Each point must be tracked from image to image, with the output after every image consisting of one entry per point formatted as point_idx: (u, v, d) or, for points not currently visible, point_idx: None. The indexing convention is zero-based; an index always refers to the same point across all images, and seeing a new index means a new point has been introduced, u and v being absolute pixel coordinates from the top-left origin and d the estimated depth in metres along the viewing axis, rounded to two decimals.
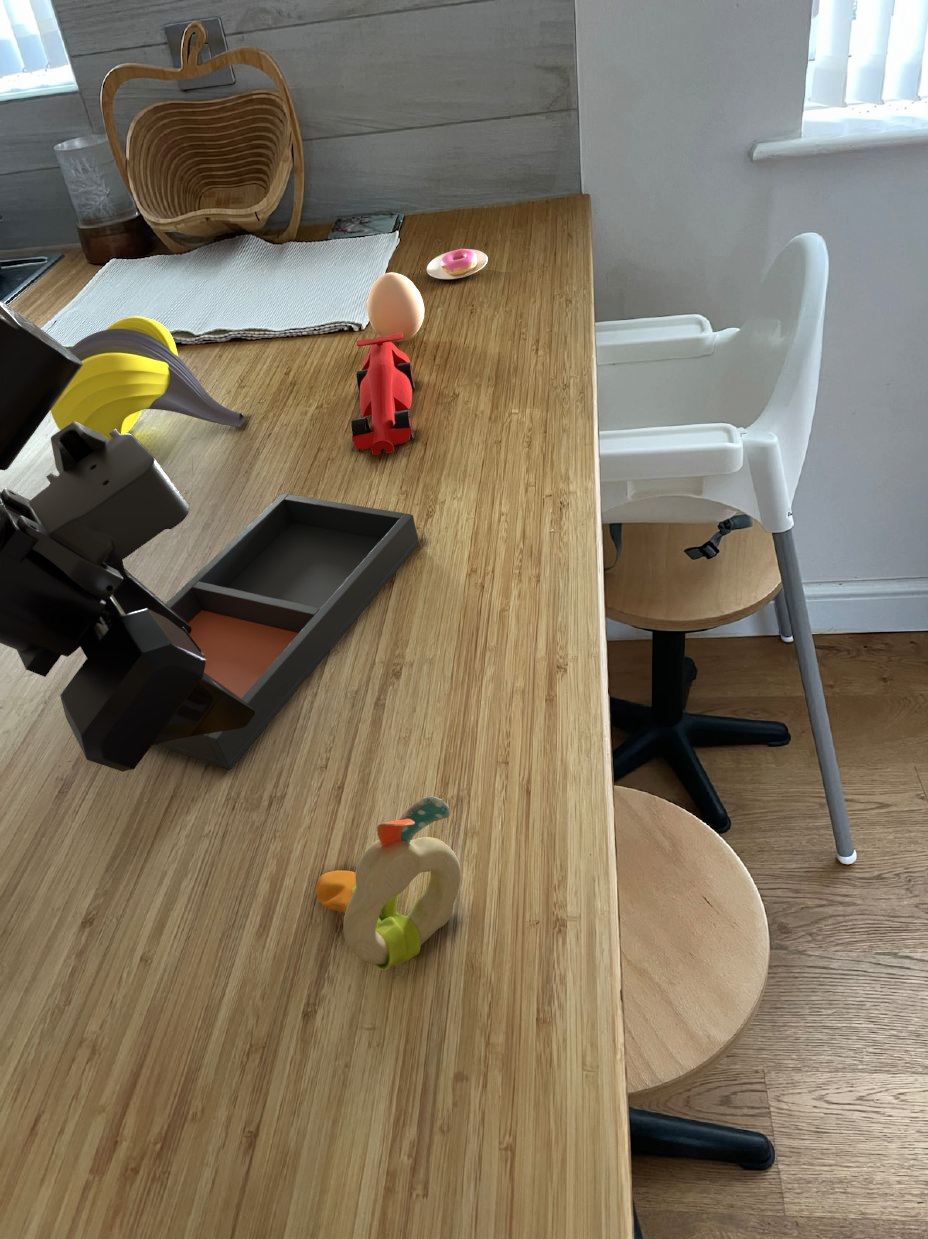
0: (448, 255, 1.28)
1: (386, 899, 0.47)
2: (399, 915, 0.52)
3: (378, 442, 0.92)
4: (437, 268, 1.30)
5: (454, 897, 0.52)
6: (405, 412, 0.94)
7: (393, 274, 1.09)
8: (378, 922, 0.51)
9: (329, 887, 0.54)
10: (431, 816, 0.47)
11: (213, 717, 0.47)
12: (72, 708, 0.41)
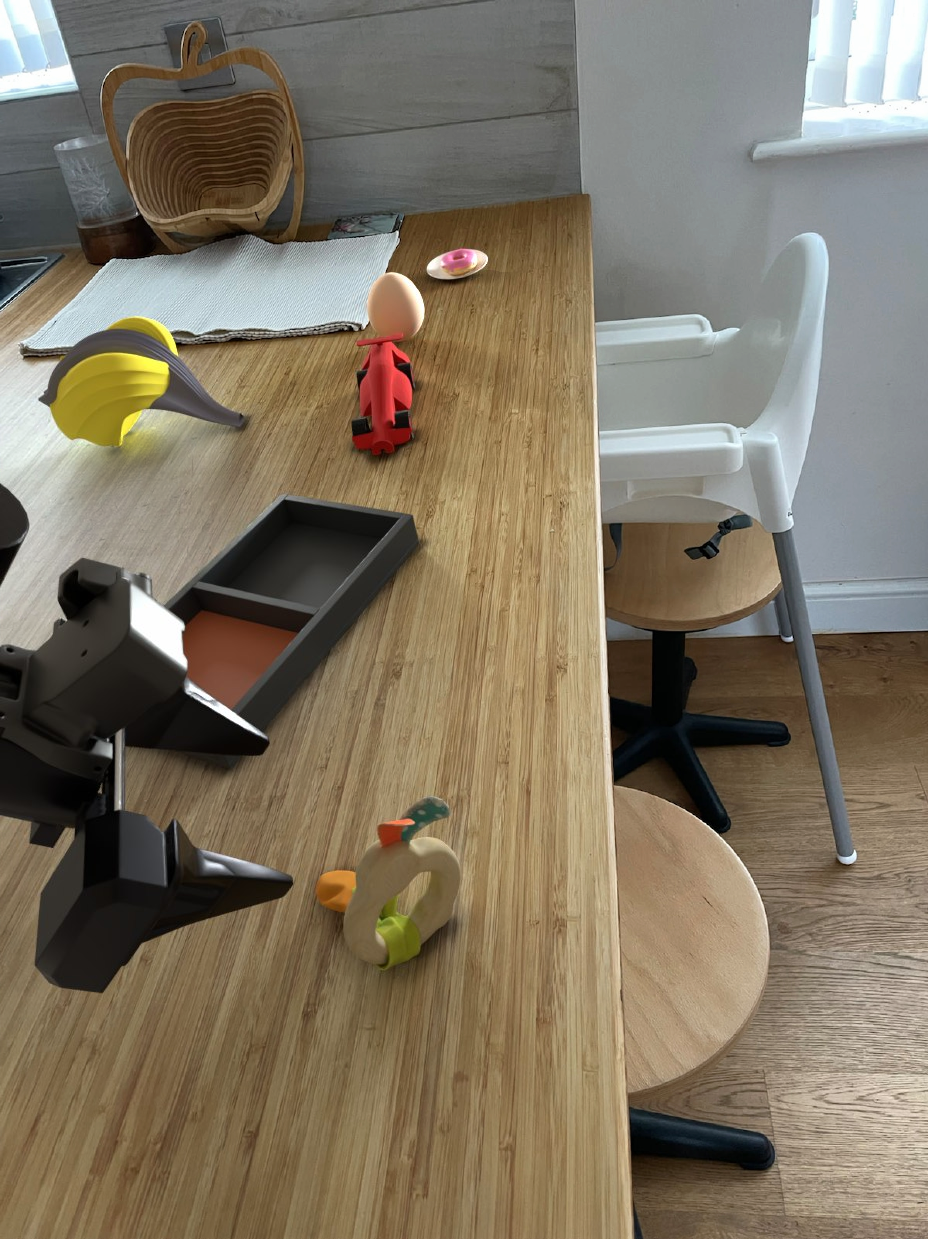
0: (448, 255, 1.28)
1: (386, 899, 0.47)
2: (399, 915, 0.52)
3: (378, 442, 0.92)
4: (437, 268, 1.30)
5: (454, 897, 0.52)
6: (405, 412, 0.94)
7: (393, 274, 1.09)
8: (378, 922, 0.51)
9: (329, 887, 0.54)
10: (431, 816, 0.47)
11: (232, 899, 0.41)
12: (40, 919, 0.37)
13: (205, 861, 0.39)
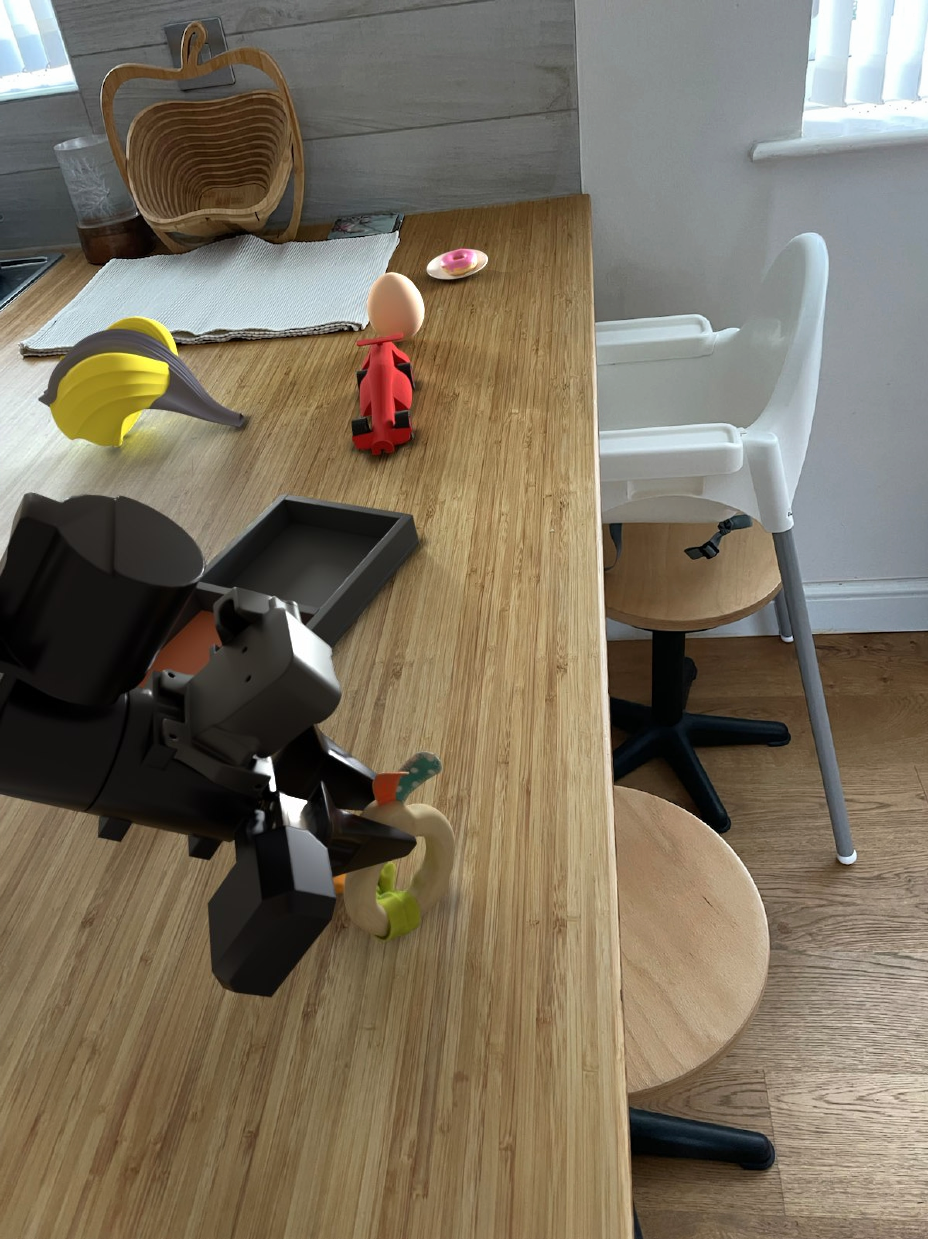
0: (448, 255, 1.28)
1: None
2: (397, 891, 0.53)
3: (378, 442, 0.92)
4: (437, 268, 1.30)
5: (450, 868, 0.53)
6: (405, 412, 0.94)
7: (393, 274, 1.09)
8: (377, 895, 0.51)
9: None
10: (424, 773, 0.48)
11: (366, 856, 0.46)
12: (212, 928, 0.39)
13: (345, 820, 0.44)
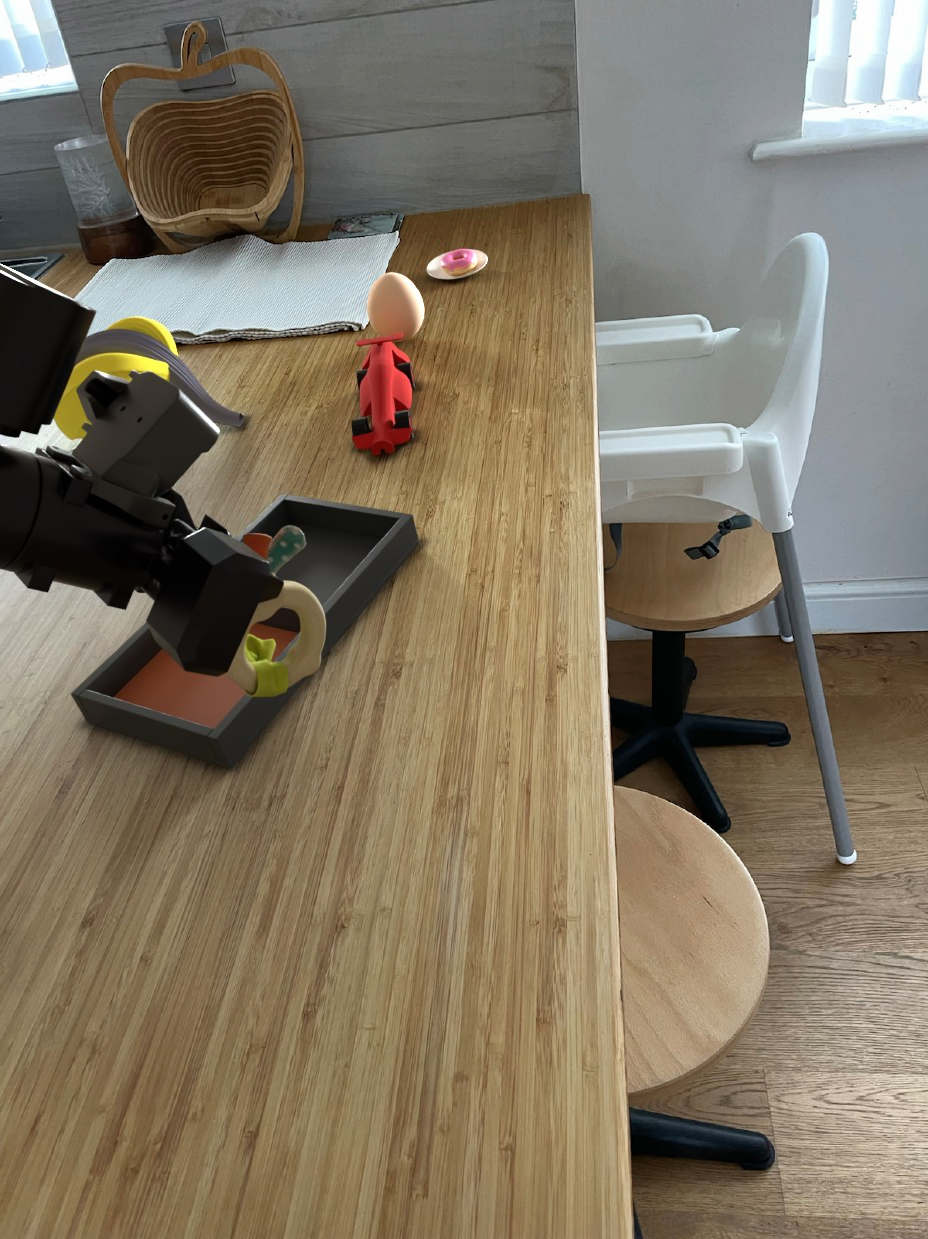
0: (448, 255, 1.28)
1: (252, 619, 0.56)
2: (273, 662, 0.60)
3: (378, 442, 0.92)
4: (437, 268, 1.30)
5: (320, 646, 0.60)
6: (405, 412, 0.94)
7: (393, 274, 1.09)
8: (252, 660, 0.59)
9: None
10: (291, 547, 0.56)
11: None
12: (160, 629, 0.45)
13: None
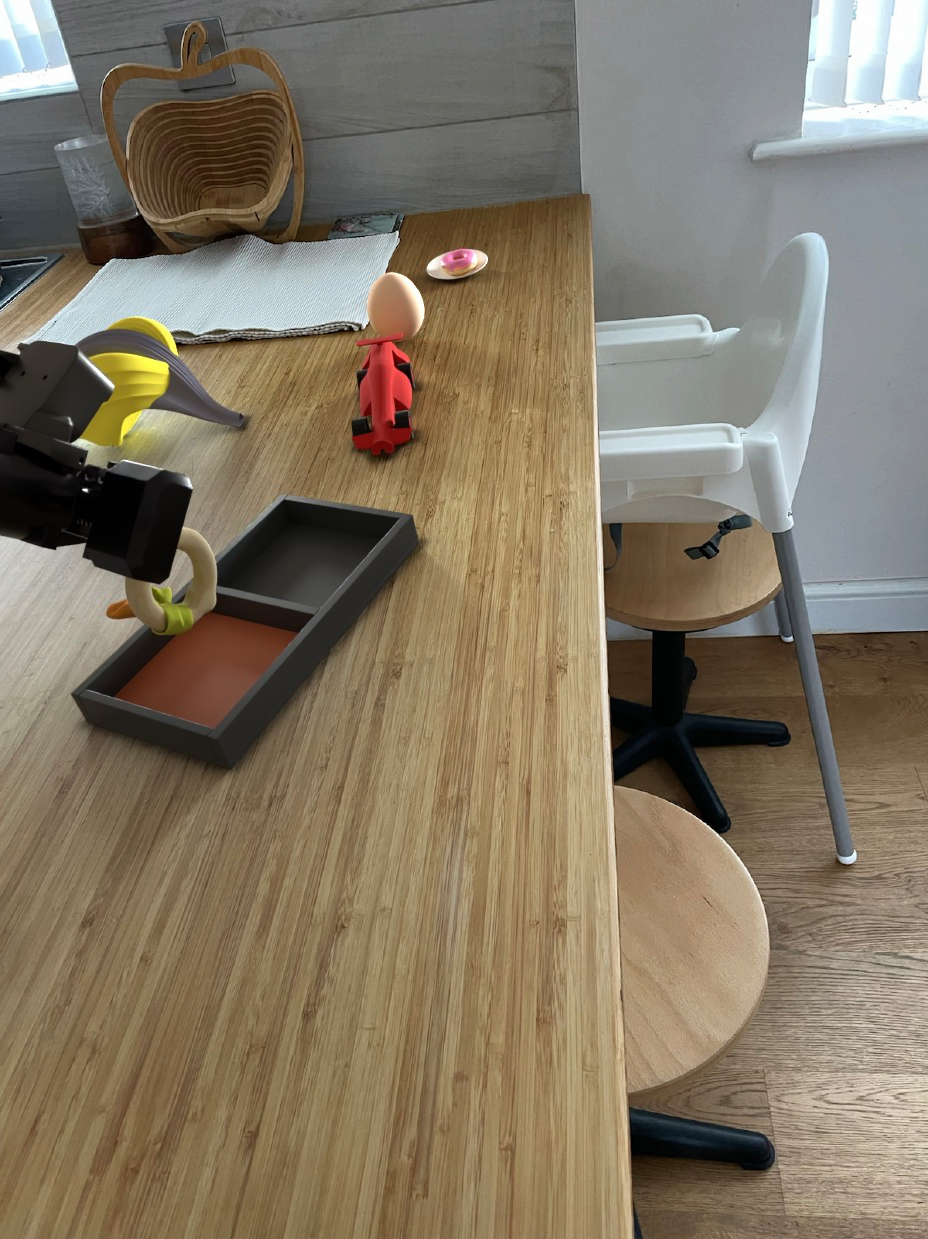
0: (448, 255, 1.28)
1: None
2: None
3: (378, 442, 0.92)
4: (437, 268, 1.30)
5: (214, 583, 0.68)
6: (405, 412, 0.94)
7: (393, 274, 1.09)
8: None
9: (116, 604, 0.68)
10: None
11: None
12: (104, 548, 0.52)
13: None
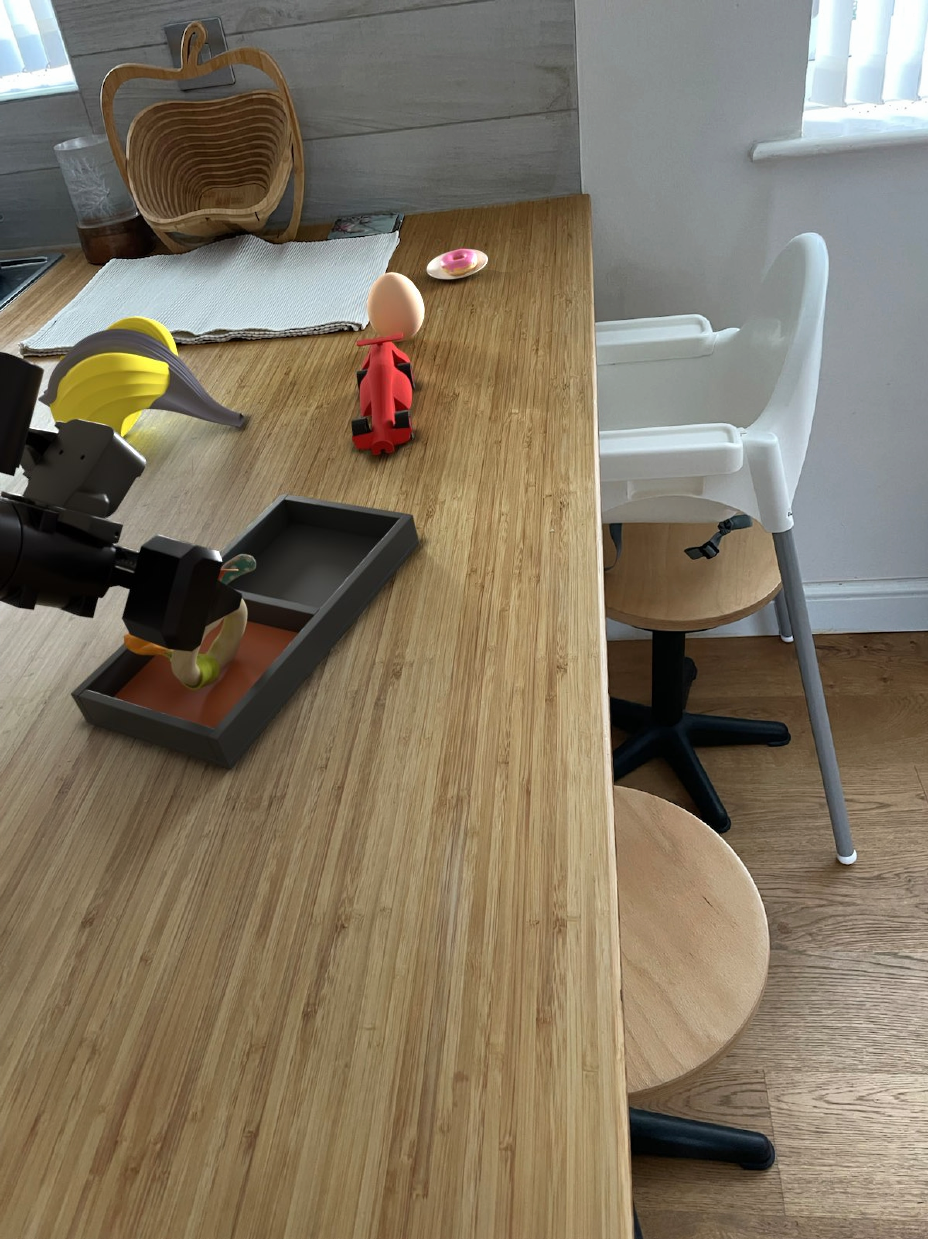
0: (448, 255, 1.28)
1: (207, 631, 0.66)
2: (199, 654, 0.70)
3: (378, 442, 0.92)
4: (437, 268, 1.30)
5: (241, 638, 0.71)
6: (405, 412, 0.94)
7: (393, 274, 1.09)
8: None
9: (139, 639, 0.70)
10: (240, 570, 0.66)
11: (220, 604, 0.62)
12: (139, 620, 0.55)
13: None
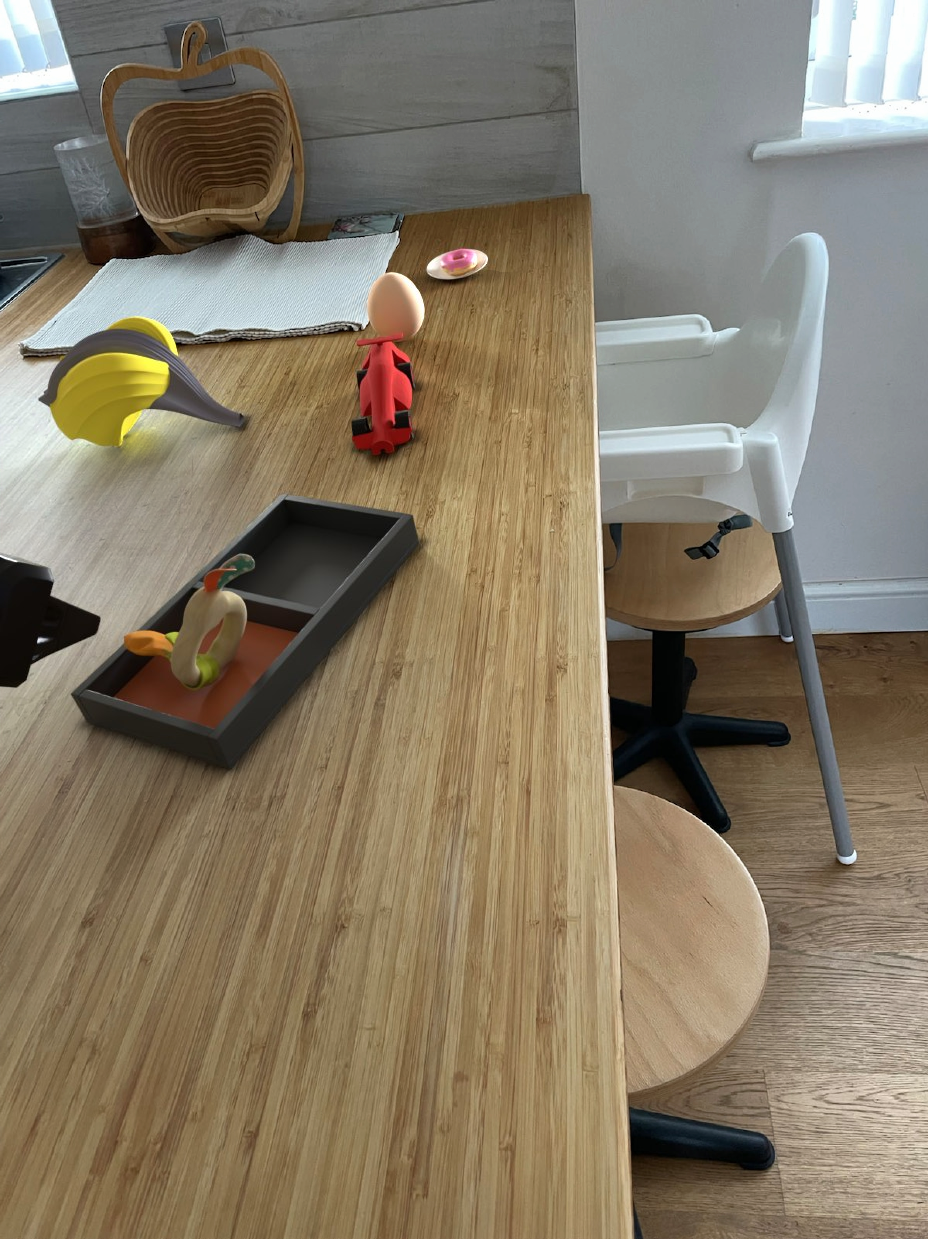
0: (448, 255, 1.28)
1: (206, 631, 0.66)
2: (199, 654, 0.70)
3: (378, 442, 0.92)
4: (437, 268, 1.30)
5: (241, 638, 0.71)
6: (405, 412, 0.94)
7: (393, 274, 1.09)
8: None
9: (139, 640, 0.70)
10: (239, 570, 0.66)
11: (68, 629, 0.53)
12: None
13: None
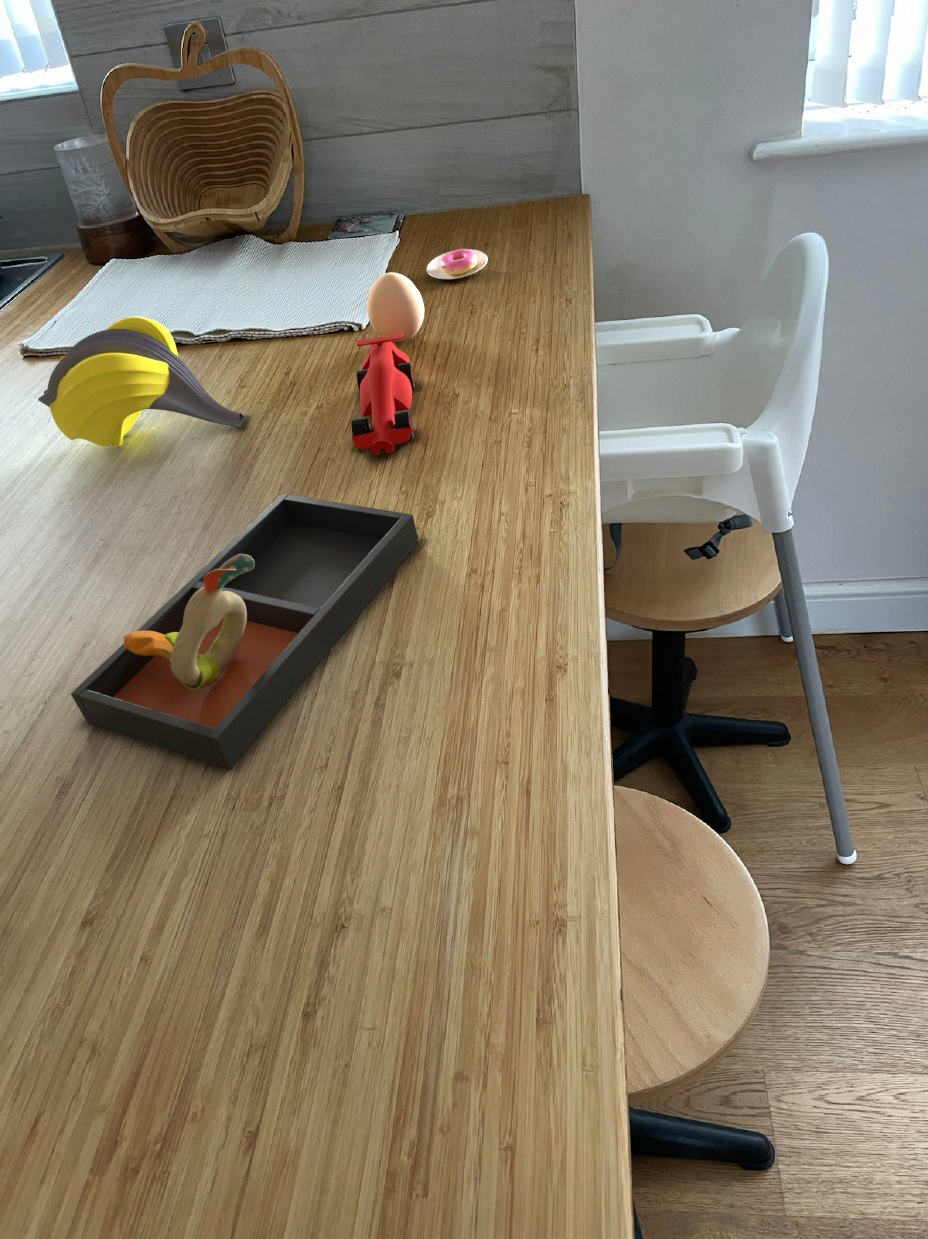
0: (448, 255, 1.28)
1: (206, 631, 0.66)
2: (199, 654, 0.70)
3: (378, 442, 0.92)
4: (437, 268, 1.30)
5: (241, 638, 0.71)
6: (405, 412, 0.94)
7: (393, 274, 1.09)
8: None
9: (139, 640, 0.70)
10: (239, 570, 0.66)
11: None
12: None
13: None
